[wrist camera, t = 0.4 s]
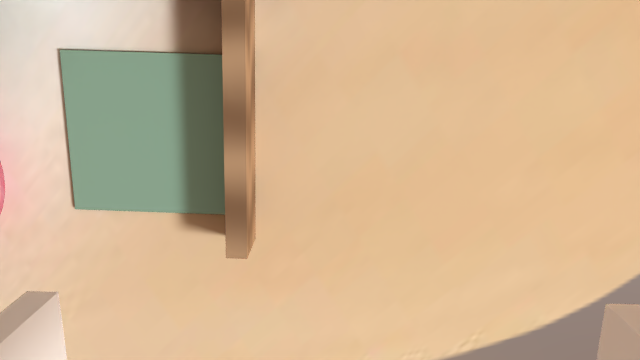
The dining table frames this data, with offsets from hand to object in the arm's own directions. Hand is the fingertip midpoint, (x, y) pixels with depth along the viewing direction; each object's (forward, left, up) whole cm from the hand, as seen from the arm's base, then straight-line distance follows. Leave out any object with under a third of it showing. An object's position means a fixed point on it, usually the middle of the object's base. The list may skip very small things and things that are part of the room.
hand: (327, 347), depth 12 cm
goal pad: (0, -14, -26) cm, 30 cm away
